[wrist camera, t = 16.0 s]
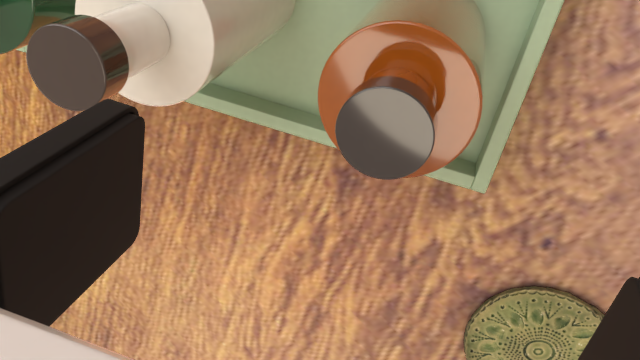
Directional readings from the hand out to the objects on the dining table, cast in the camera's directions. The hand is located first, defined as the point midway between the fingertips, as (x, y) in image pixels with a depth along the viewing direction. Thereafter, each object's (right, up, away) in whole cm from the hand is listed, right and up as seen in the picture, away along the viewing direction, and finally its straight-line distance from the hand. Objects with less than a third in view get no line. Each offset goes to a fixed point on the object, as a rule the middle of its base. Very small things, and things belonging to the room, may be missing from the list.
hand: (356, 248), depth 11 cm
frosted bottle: (-4, +10, +16) cm, 19 cm away
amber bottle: (+4, +7, +15) cm, 17 cm away
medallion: (+11, -8, +21) cm, 25 cm away
